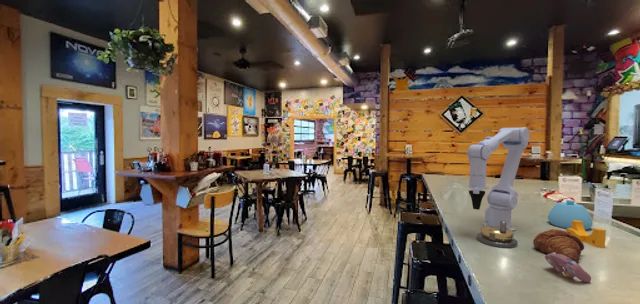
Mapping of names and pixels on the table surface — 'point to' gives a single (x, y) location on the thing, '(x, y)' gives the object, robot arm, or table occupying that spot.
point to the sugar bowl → (569, 215)
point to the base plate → (497, 244)
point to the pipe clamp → (594, 239)
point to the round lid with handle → (497, 233)
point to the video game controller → (567, 267)
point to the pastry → (559, 243)
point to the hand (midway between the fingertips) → (476, 209)
